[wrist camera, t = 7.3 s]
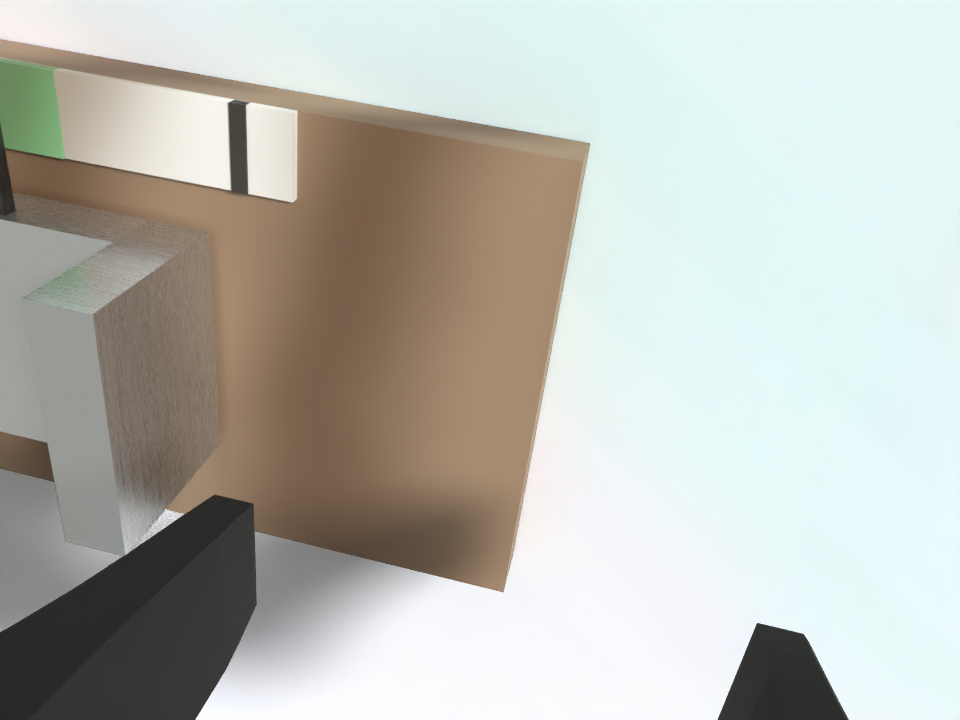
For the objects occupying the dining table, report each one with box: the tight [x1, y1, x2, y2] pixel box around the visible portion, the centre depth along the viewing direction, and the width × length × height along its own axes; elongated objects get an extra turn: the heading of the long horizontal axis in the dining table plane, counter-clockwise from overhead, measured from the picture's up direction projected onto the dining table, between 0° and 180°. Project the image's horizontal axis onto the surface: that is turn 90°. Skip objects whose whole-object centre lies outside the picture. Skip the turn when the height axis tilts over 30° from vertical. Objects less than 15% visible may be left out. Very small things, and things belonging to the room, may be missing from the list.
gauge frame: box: [0, 39, 590, 592], centre depth 16 cm, size 20×10×6 cm, turn 83°
